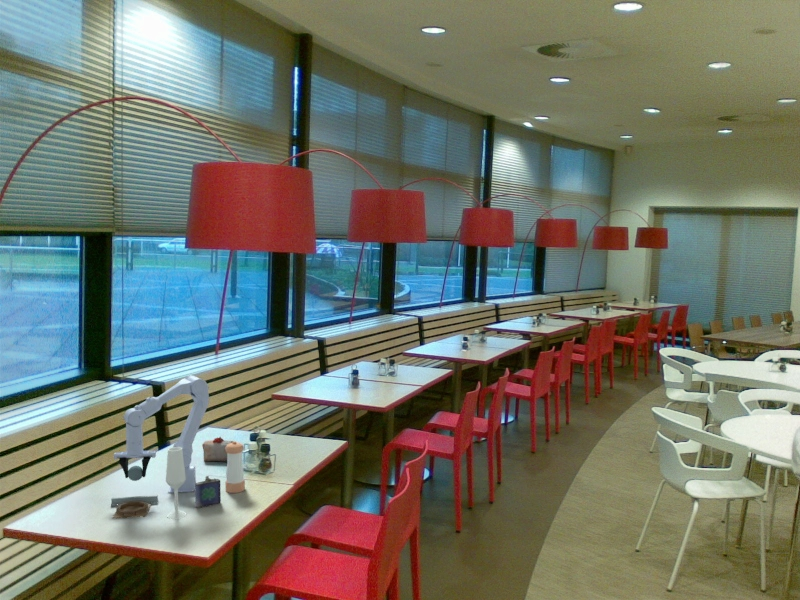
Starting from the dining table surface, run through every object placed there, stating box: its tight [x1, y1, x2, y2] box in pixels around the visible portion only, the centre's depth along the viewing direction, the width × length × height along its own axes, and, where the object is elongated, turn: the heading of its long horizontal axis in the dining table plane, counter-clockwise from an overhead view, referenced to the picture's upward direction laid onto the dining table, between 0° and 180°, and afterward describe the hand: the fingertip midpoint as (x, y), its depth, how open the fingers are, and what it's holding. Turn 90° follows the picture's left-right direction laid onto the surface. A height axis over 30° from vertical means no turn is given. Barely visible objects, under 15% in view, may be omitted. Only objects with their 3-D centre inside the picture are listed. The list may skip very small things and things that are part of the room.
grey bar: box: [110, 494, 159, 507], centre depth 260 cm, size 16×3×2 cm, turn 100°
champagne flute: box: [165, 446, 187, 520], centre depth 249 cm, size 7×7×24 cm
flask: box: [194, 475, 222, 509], centre depth 259 cm, size 9×3×11 cm, turn 121°
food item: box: [201, 436, 234, 463], centre depth 310 cm, size 14×8×10 cm, turn 86°
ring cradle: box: [112, 501, 152, 519], centre depth 253 cm, size 11×11×2 cm
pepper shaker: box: [225, 440, 246, 494], centre depth 274 cm, size 7×7×19 cm
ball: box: [128, 465, 143, 482], centre depth 264 cm, size 6×6×6 cm
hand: (135, 476), depth 264 cm, fingers closed on ball, 5 cm apart
